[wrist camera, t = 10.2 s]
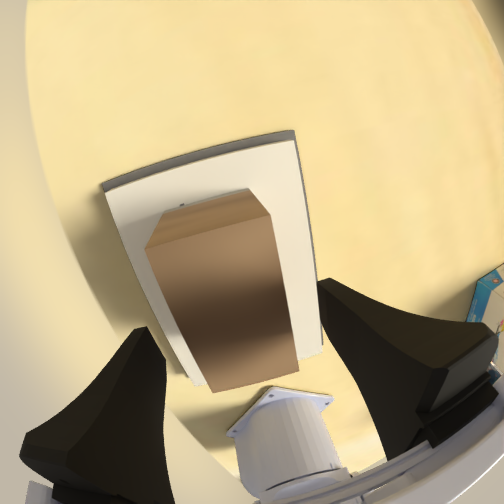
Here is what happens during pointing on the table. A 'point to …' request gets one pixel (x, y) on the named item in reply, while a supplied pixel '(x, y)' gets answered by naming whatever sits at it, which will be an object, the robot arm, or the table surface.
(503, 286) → the ink box
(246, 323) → the block
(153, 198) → the marked board
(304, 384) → the table surface
